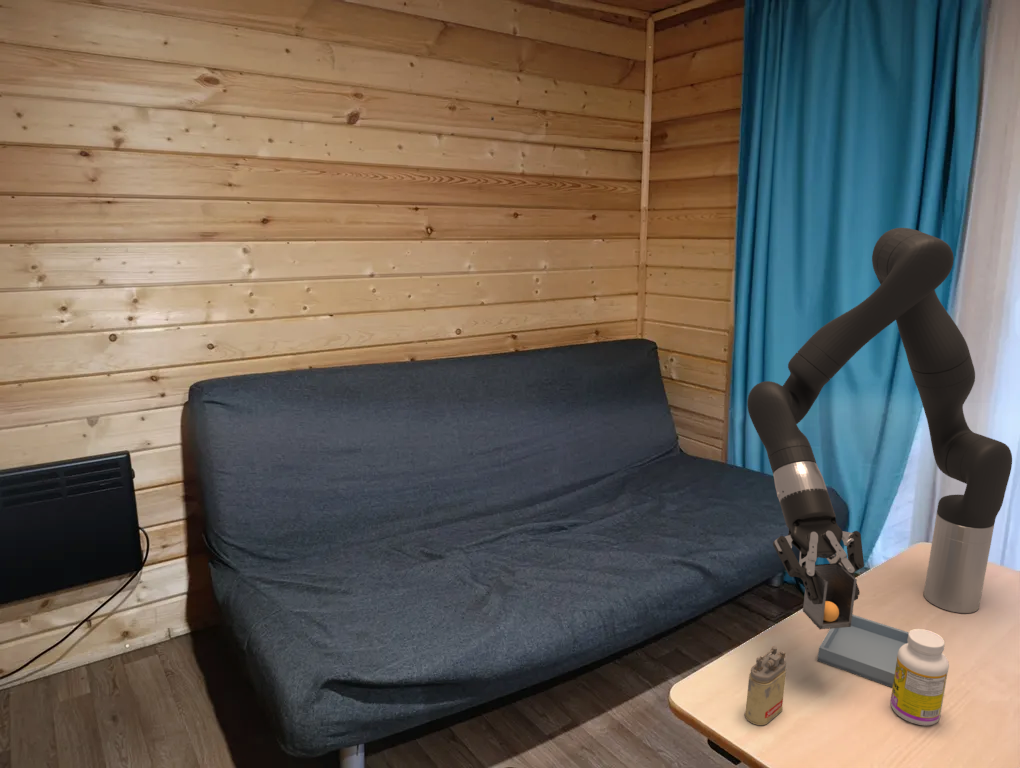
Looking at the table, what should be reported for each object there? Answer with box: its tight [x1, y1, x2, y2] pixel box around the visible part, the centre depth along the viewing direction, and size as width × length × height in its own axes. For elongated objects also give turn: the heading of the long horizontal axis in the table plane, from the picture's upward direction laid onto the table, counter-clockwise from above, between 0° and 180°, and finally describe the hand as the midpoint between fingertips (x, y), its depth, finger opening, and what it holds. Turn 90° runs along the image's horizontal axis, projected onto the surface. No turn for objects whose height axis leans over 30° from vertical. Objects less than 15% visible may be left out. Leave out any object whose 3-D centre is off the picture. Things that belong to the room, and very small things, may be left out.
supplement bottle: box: [890, 628, 950, 726], centre depth 110 cm, size 7×7×13 cm
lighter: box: [744, 645, 787, 726], centre depth 110 cm, size 7×4×10 cm, turn 130°
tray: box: [817, 613, 910, 688], centre depth 125 cm, size 14×12×2 cm
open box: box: [802, 563, 858, 630], centre depth 113 cm, size 5×5×8 cm
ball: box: [823, 601, 839, 622], centre depth 112 cm, size 3×3×3 cm
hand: (835, 601), depth 111 cm, fingers closed on open box, 5 cm apart
